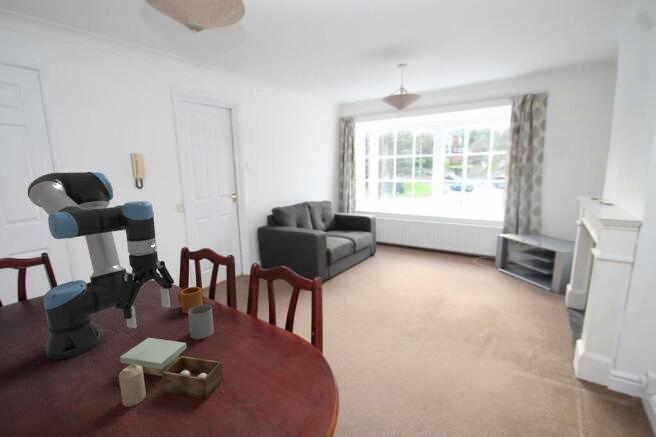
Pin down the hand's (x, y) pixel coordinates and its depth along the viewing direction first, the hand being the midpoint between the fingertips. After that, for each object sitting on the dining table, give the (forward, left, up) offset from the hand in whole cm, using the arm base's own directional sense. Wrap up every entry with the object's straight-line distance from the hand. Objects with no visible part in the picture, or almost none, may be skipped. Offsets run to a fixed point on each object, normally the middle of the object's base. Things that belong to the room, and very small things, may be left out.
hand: (150, 316), depth 96 cm
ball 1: (+16, -6, -14) cm, 22 cm away
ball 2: (+22, -6, -14) cm, 27 cm away
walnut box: (+19, -6, -17) cm, 26 cm away
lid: (+1, -1, -13) cm, 13 cm away
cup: (+3, +20, -17) cm, 27 cm away
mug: (-16, +38, -17) cm, 45 cm away
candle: (+6, -14, -17) cm, 23 cm away
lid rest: (+1, -1, -17) cm, 17 cm away
